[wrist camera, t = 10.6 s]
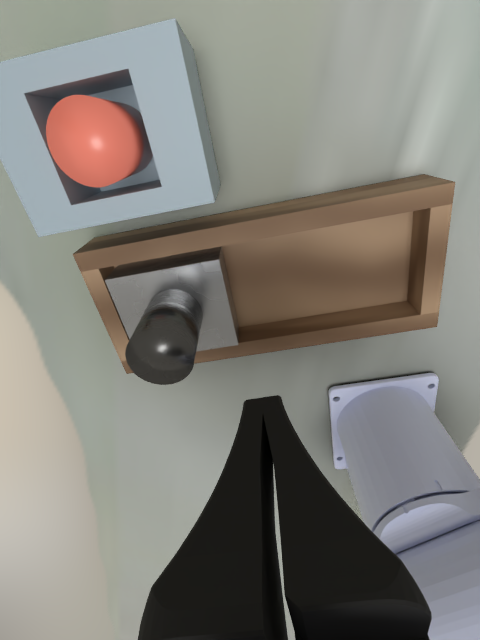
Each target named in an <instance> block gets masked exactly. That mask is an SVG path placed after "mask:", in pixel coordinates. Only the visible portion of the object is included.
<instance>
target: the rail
mask: <svg viewBox="0 0 480 640" xmlns="http://www.w3.org/2000/svg"><path fill="white" fill-rule="evenodd" d="M454 187H455V182H453V181H449V180H445V179H441V178H437V177H433V176H429V175H425V174H423V175H418V176H413V177H408V178H403V179H397V180H392V181H387V182H382V183H376V184H371V185H366V186H361V187H356V188H350V189H345V190H340V191H335V192H330V193H324V194H319V195H314V196H309V197H304V198H298V199H293V200H288V201H283V202H278V203H272V204H267V205H262V206H257V207H252V208H246V209H241V210H236V211H231V212H226V213H220V214H215V215H210V216H205V217H200V218H194V219H189V220H184V221H179V222H174V223H168V224H163V225H158V226H153V227H148V228H142V229H137V230H132V231H127V232H122V233H116V234H111V235H106V236H101V237H96V238H94V239H92V240H91V241H90V242H88V243H87V244H86V245H84V246H83V247H82V248H80V249H79V250H78V251H76V252H75V253H74V254H73V256H74V258H75V260H76V263H77V265H78V267H79V269H80V271H81V274H82V276H83V278H84V280H85V283H86V285H87V287H88V289H89V291H90V294H91V296H92V298H93V300H94V302H95V305H96V307H97V309H98V311H99V314H100V316H101V318H102V320H103V322H104V325H105V327H106V329H107V331H108V333H109V336H110V338H111V340H112V342H113V345H114V347H115V349H116V351H117V353H118V356H119V358H120V360H121V362H122V364H123V367H124V369H125V371H126V373H127V374H128V373H134V372H133V371H132V370H131V369H130V367H129V365H128V364H127V361H126V357H125V351H126V347H127V344H128V342H129V340H130V339H129V337H128V335H127V332H126V330H125V327H124V325H123V323H122V320H121V318H120V315H119V313H118V311H117V308H116V306H115V303H114V301H113V299H112V296H111V294H110V292H109V289H108V287H107V284H106V282H105V279H106V278H107V277H108V276H109V275H110V274H111V272H112V271H113V270H114V269H115V268H116V267H117V266H118V265H122V264H127V263H133V262H138V261H144V260H149V259H155V258H160V257H166V256H171V255H177V254H182V253H187V252H193V251H198V250H204V249H209V248H215V247H220V246H222V251H223V255H224V260H225V264H226V269H227V273H228V278H229V282H230V287H231V292H232V296H233V301H234V305H235V310H236V314H237V319H238V324H239V326H238V345H235V346H228V347H222V348H215V349H209V350H202V351H196V355H195V360H194V363H201V362H208V361H214V360H221V359H227V358H234V357H241V356H247V355H254V354H260V353H267V352H274V351H280V350H287V349H293V348H300V347H307V346H313V345H320V344H326V343H333V342H340V341H346V340H353V339H360V338H366V337H373V336H379V335H386V334H393V333H399V332H406V331H412V330H419V329H426V328H432V327H437V323H438V315H439V307H440V299H441V291H442V283H443V275H444V267H445V259H446V251H447V243H448V235H449V227H450V219H451V211H452V203H453V195H454Z"/></svg>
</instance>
